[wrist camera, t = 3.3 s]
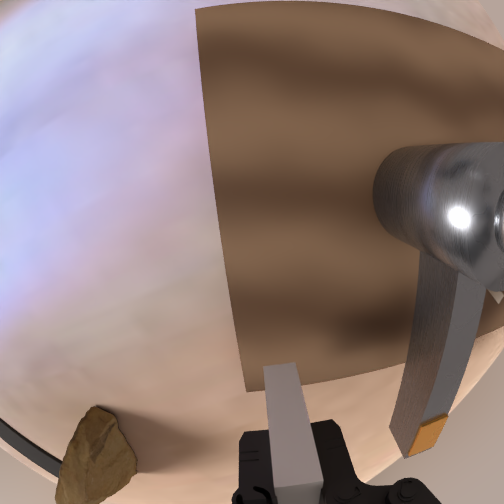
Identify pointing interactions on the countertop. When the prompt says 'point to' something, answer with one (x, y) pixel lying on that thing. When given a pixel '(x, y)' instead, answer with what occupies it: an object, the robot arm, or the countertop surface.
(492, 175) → the grey mallet
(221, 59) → the base board
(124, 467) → the rock
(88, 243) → the countertop surface
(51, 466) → the phone
